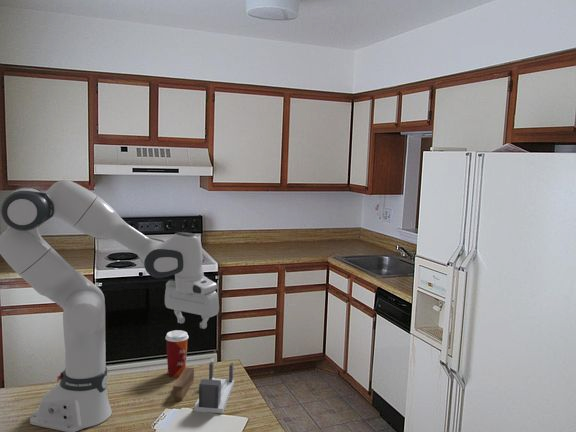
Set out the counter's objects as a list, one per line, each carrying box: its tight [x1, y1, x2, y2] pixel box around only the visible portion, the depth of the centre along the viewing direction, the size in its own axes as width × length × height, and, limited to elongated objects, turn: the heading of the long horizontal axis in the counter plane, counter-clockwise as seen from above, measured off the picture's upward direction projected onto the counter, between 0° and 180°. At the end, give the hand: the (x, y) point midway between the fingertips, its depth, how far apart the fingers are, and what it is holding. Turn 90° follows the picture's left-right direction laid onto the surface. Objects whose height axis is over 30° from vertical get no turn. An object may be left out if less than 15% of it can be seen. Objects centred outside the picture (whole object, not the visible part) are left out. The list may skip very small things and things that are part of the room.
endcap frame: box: [193, 361, 235, 414], centre depth 162 cm, size 9×20×9 cm, turn 176°
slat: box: [172, 367, 195, 402], centre depth 166 cm, size 3×14×5 cm, turn 175°
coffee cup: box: [165, 329, 190, 378], centre depth 178 cm, size 8×8×15 cm
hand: (192, 325), depth 157 cm, fingers open, 8 cm apart
